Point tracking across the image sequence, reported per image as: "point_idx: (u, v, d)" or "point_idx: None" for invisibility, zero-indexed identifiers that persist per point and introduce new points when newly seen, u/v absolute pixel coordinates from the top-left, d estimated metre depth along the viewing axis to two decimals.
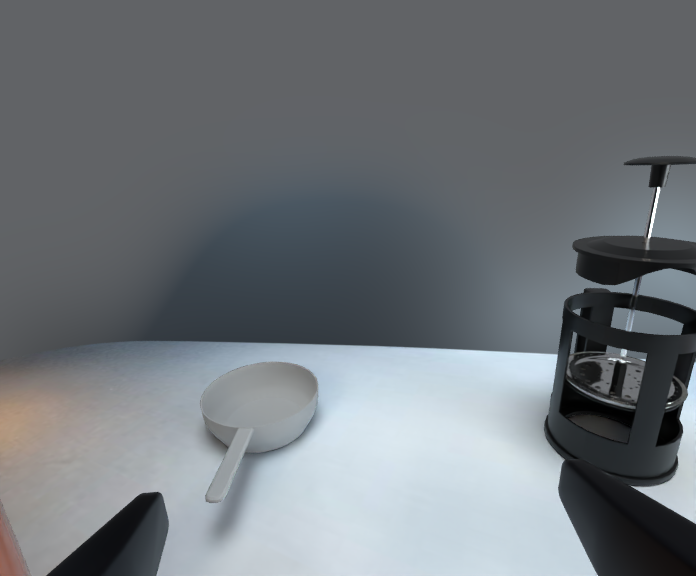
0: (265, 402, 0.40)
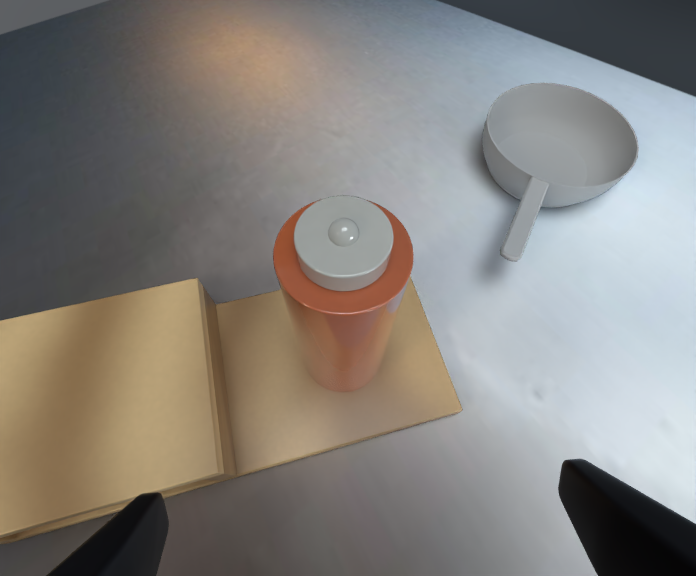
0: (543, 139, 0.33)
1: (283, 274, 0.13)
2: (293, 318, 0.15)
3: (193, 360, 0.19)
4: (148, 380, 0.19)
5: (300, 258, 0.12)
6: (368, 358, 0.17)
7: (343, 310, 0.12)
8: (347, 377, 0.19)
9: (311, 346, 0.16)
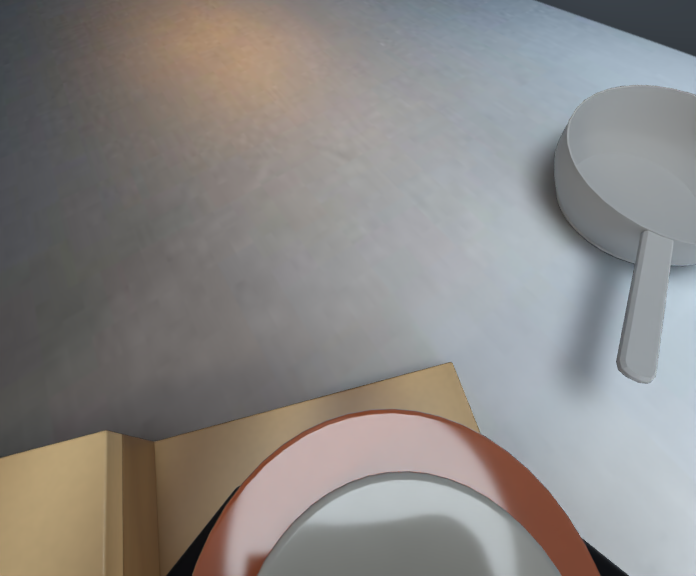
0: (632, 164, 0.23)
1: None
2: None
3: None
4: None
5: None
6: None
7: None
8: None
9: None
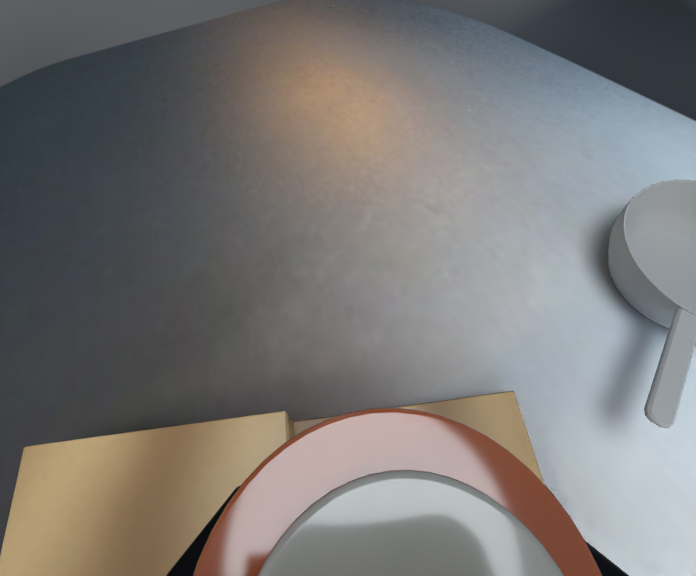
0: (676, 242, 0.28)
1: None
2: None
3: None
4: None
5: None
6: None
7: None
8: None
9: None
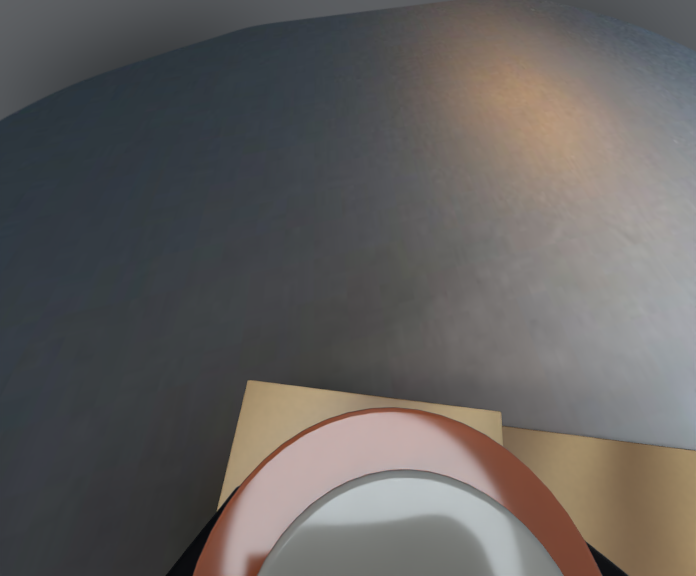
0: None
1: None
2: None
3: None
4: None
5: None
6: None
7: None
8: None
9: None
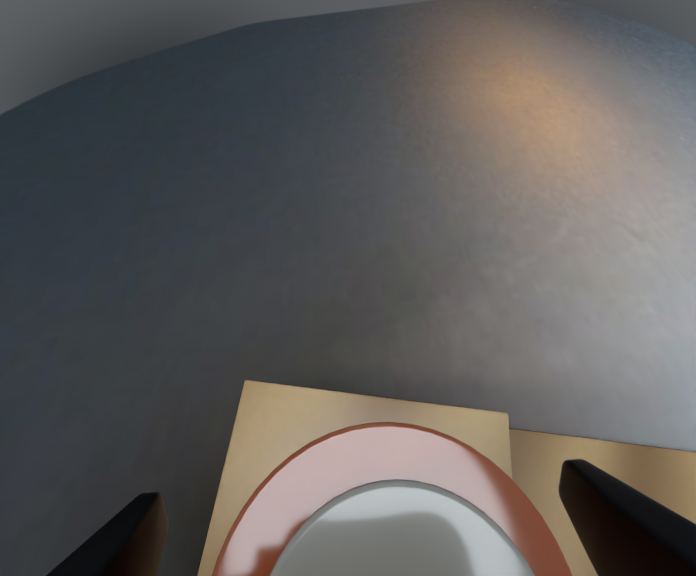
0: None
1: None
2: None
3: None
4: None
5: None
6: None
7: None
8: None
9: None
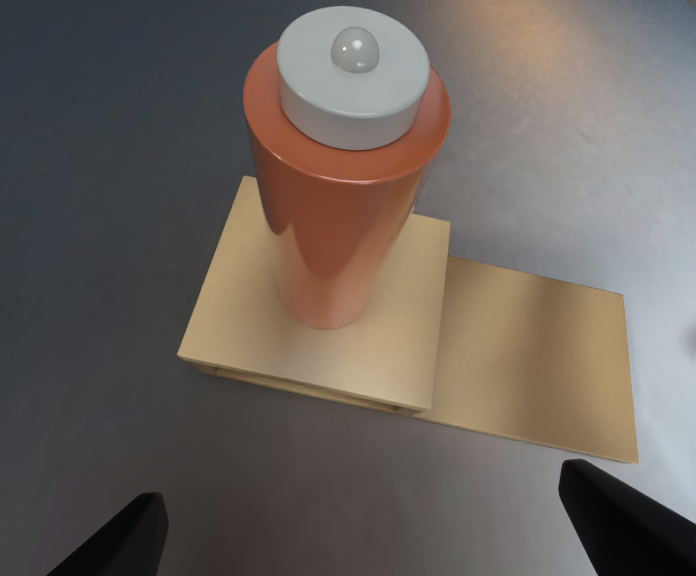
0: None
1: (255, 116, 0.08)
2: (266, 202, 0.10)
3: (431, 297, 0.19)
4: (387, 296, 0.19)
5: (284, 82, 0.08)
6: (361, 280, 0.13)
7: (342, 176, 0.08)
8: (330, 306, 0.15)
9: (288, 251, 0.12)
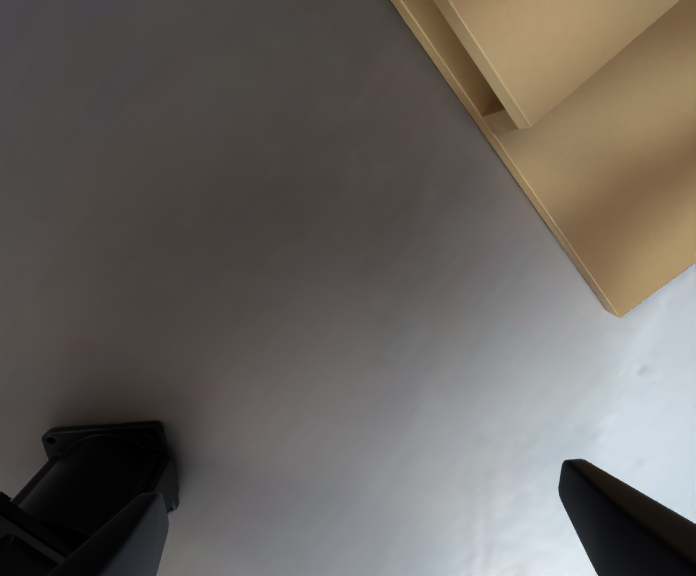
0: None
1: None
2: None
3: (647, 6, 0.14)
4: None
5: None
6: None
7: None
8: None
9: None
